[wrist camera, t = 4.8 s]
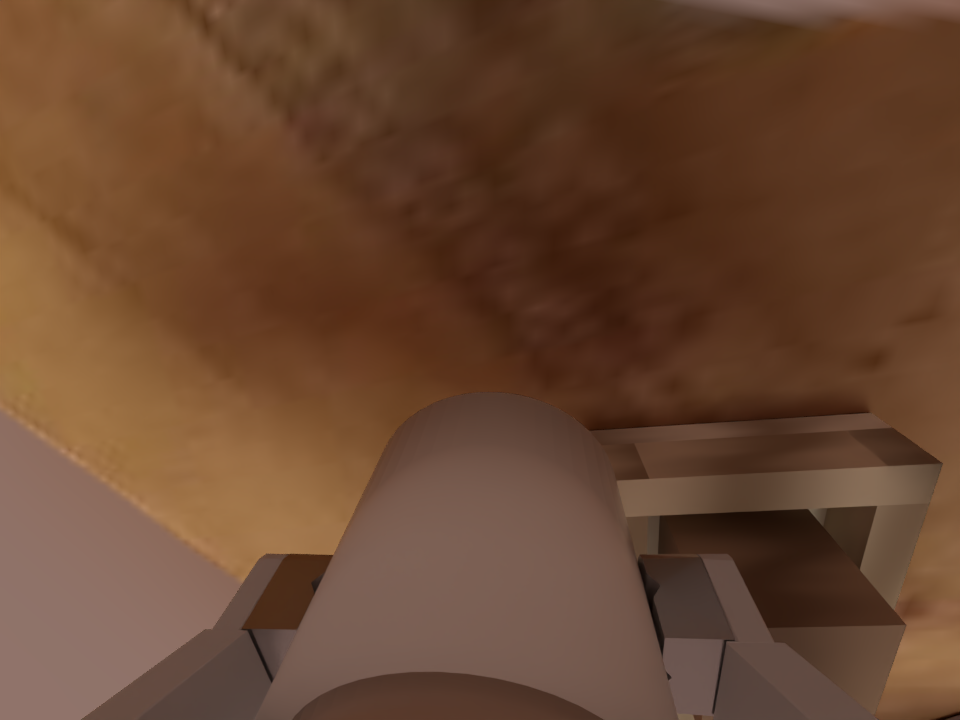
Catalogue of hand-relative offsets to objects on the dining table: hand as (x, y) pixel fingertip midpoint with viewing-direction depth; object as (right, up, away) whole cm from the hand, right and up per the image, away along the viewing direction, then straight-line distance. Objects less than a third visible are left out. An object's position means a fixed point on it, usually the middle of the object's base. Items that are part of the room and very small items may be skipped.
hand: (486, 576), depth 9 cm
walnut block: (+9, -3, +9) cm, 14 cm away
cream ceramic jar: (0, +1, +2) cm, 2 cm away
